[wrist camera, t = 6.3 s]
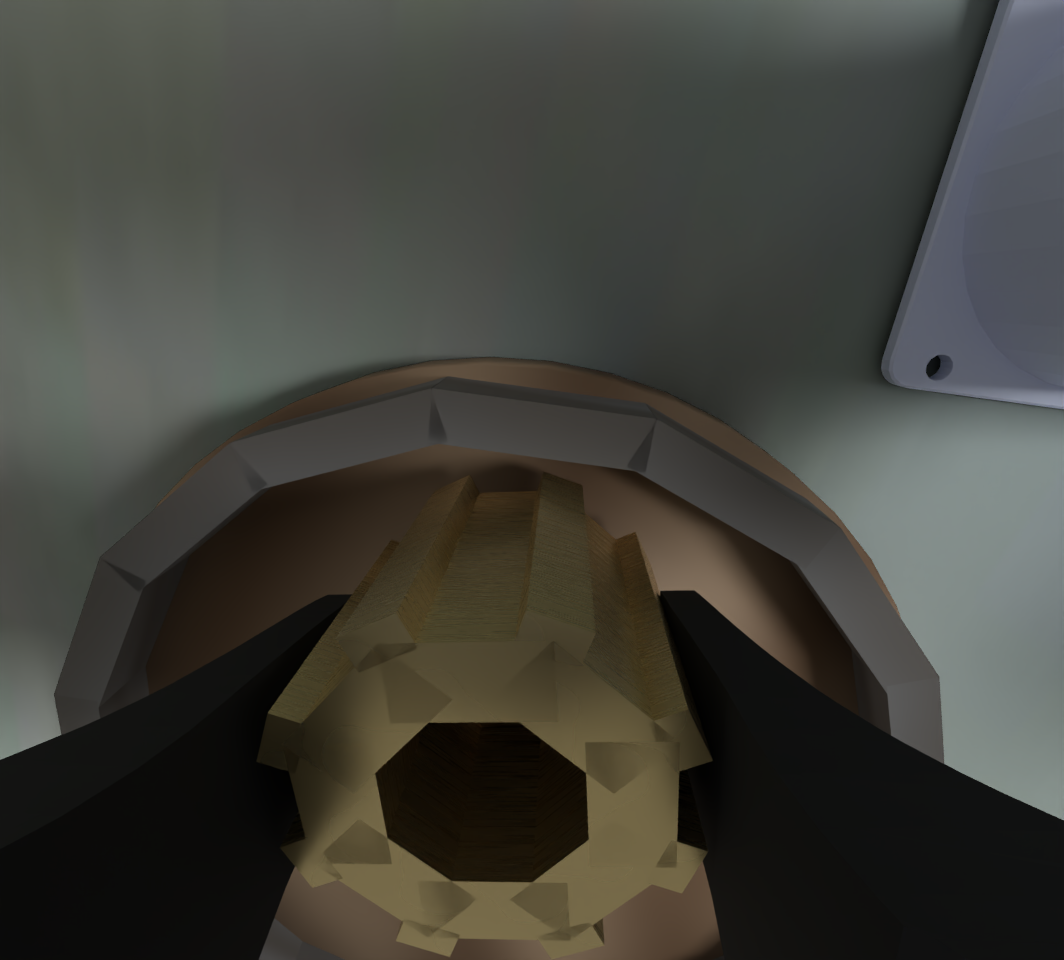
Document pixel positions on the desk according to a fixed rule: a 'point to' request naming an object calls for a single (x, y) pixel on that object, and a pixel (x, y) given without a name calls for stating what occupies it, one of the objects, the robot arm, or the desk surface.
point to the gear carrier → (495, 466)
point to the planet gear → (496, 728)
